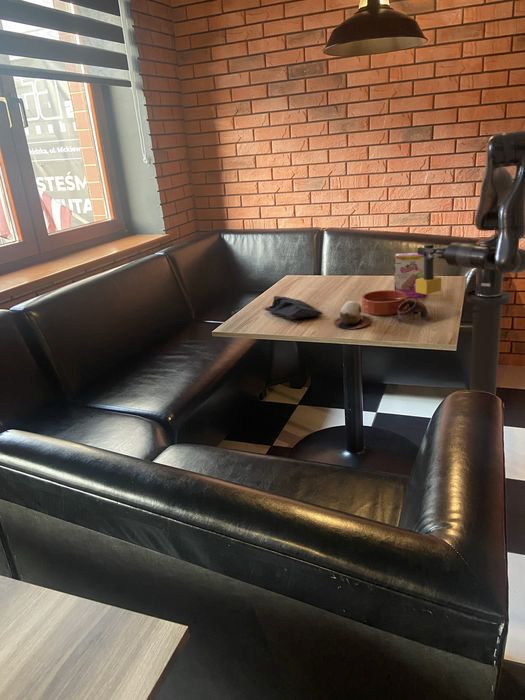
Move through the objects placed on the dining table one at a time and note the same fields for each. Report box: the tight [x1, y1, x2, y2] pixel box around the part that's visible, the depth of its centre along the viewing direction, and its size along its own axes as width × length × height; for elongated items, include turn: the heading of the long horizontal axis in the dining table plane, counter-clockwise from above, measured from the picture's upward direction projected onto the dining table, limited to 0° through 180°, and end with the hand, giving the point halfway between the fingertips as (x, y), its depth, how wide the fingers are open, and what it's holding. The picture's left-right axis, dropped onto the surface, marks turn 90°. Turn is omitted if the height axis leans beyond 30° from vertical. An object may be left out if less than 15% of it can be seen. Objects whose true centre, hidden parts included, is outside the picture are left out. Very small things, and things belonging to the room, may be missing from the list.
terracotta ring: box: [361, 289, 408, 316], centre depth 190 cm, size 16×16×5 cm
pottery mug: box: [397, 298, 430, 322], centre depth 177 cm, size 12×9×8 cm
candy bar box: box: [393, 252, 426, 299], centre depth 200 cm, size 11×5×16 cm, turn 74°
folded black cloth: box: [264, 295, 323, 320], centre depth 196 cm, size 15×22×5 cm
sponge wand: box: [416, 243, 442, 295], centre depth 181 cm, size 7×5×16 cm
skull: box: [334, 300, 372, 330], centre depth 179 cm, size 12×10×10 cm
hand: (421, 249), depth 181 cm, fingers closed on sponge wand, 3 cm apart
